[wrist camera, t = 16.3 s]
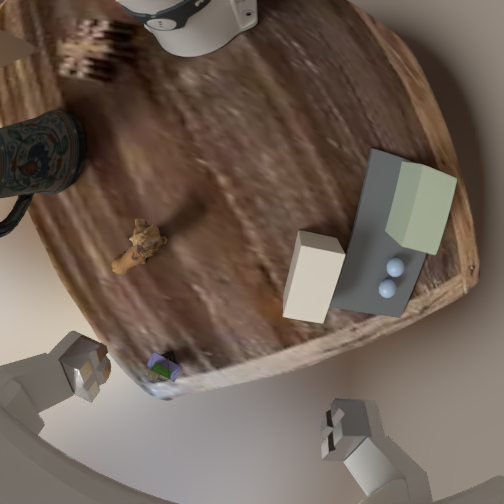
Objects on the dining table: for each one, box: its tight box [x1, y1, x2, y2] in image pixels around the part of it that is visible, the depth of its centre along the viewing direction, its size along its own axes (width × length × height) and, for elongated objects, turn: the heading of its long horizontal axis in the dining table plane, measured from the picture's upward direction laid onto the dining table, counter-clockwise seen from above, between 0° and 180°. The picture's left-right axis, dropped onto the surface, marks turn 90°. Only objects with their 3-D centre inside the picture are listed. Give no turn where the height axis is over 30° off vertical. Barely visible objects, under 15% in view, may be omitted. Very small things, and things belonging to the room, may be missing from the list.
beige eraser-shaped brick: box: [283, 230, 345, 324], centre depth 40 cm, size 11×6×7 cm, turn 171°
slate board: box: [330, 148, 427, 318], centre depth 39 cm, size 26×14×1 cm, turn 171°
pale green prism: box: [385, 161, 457, 255], centre depth 33 cm, size 11×6×7 cm, turn 171°
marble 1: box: [379, 279, 396, 298], centre depth 40 cm, size 3×3×3 cm
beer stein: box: [0, 110, 86, 237], centre depth 29 cm, size 16×19×25 cm
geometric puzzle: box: [147, 351, 183, 383], centre depth 51 cm, size 7×7×8 cm
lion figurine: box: [112, 219, 167, 274], centre depth 41 cm, size 15×5×9 cm, turn 135°
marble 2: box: [387, 258, 405, 277], centre depth 38 cm, size 3×3×3 cm
